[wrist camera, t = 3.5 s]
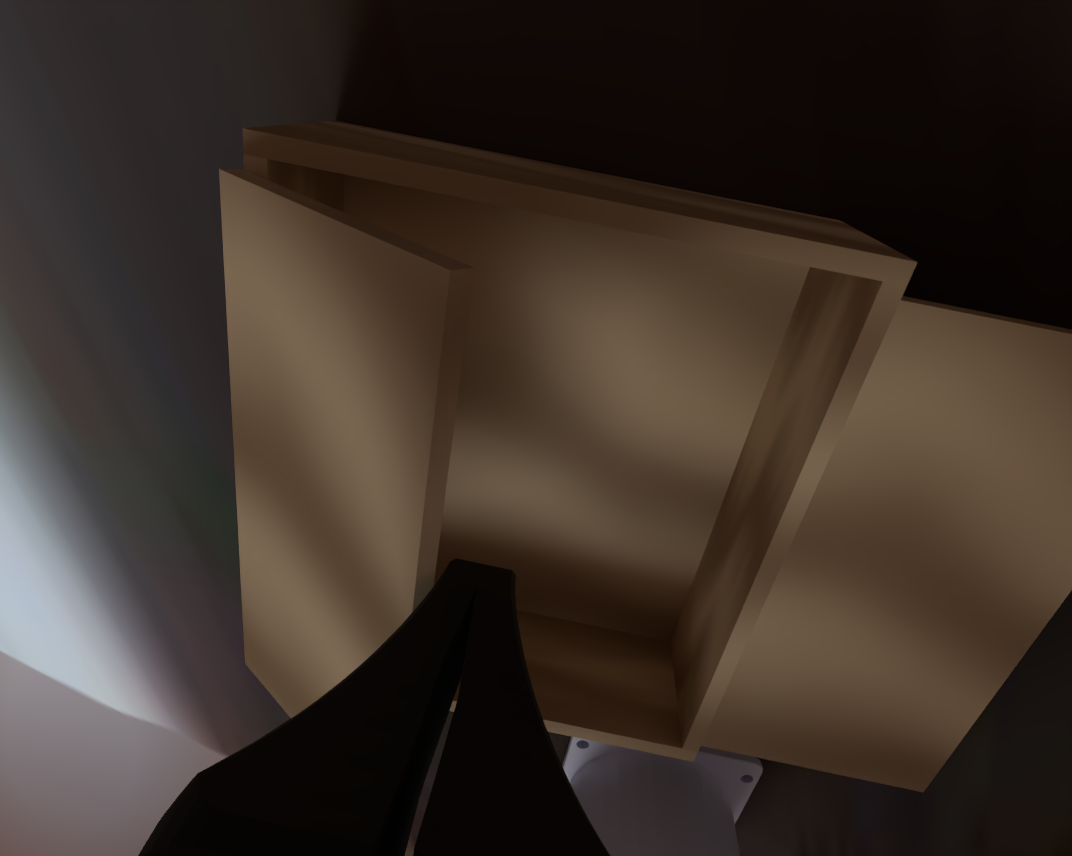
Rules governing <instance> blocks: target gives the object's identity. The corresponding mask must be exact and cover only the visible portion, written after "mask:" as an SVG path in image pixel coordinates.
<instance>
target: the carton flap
mask: <svg viewBox="0 0 1072 856" xmlns="http://www.w3.org/2000/svg"><path fill="white" fill-rule="evenodd" d="M219 177H220V196H221V215H222V234H223V253H224V271H225V290H226V309H227V328H228V347H229V366H230V385H231V404H232V422H233V441H234V460H235V479H236V498H237V517H238V536H239V555H240V573H241V592H242V611H243V630H244V649H245V664H246V665H247V666H248V667H249V669H250V670H251V671H252V672H253V673H254V674H255V676H256V677H257V678H258V679H259V680H260V682H261V683H262V684H263V685H264V686H265V688H266V689H267V690H268V691H269V692H270V694H271V695H272V696H273V697H274V698H275V700H276V701H277V702H278V703H279V704H280V706H281V707H282V708H283V709H284V710H285V712H286V713H287V714H288V715H289V716H290V718H292V717H294V716H295V715H297V714H298V713H300V712H301V711H303V710H304V709H306V708H307V707H308V706H310V705H311V704H312V703H314V702H315V701H317V700H318V699H319V698H320V697H322V696H323V695H324V694H326V693H327V692H328V691H329V690H331V689H332V688H333V687H335V686H336V685H337V684H338V683H340V682H341V681H342V680H343V679H345V678H346V677H347V676H348V675H349V674H350V673H352V672H353V671H354V670H355V669H356V668H357V667H359V666H360V665H361V664H362V663H363V662H364V661H365V660H366V659H367V658H369V657H370V656H371V655H372V654H373V653H374V652H375V651H376V650H377V649H378V648H379V647H380V646H381V645H382V644H383V643H384V642H385V641H386V640H387V639H388V638H389V637H390V636H391V635H392V634H393V633H394V632H395V631H396V630H397V629H398V628H399V627H400V626H401V625H402V624H403V622H404V621H405V620H406V619H407V618H408V617H409V616H410V614H411V613H412V612H413V611H414V610H415V609H416V608H417V606H418V605H419V604H420V603H421V602H422V601H423V599H424V598H425V597H426V596H427V594H428V593H429V592H430V590H431V589H432V588H433V586H434V578H435V571H436V563H437V555H438V547H439V540H440V532H441V524H442V516H443V508H444V501H445V493H446V485H447V477H448V470H449V462H450V454H451V446H452V439H453V431H454V423H455V415H456V407H457V400H458V392H459V384H460V376H461V369H462V361H463V353H464V345H465V338H466V330H467V322H468V314H469V306H470V299H471V291H472V283H473V275H474V267H471V266H469V265H467V264H464V263H462V262H460V261H457V260H455V259H453V258H450V257H448V256H445V255H443V254H441V253H438V252H436V251H434V250H431V249H429V248H427V247H424V246H422V245H419V244H417V243H415V242H412V241H410V240H408V239H405V238H403V237H401V236H398V235H396V234H394V233H391V232H389V231H386V230H384V229H382V228H379V227H377V226H375V225H372V224H370V223H368V222H365V221H363V220H360V219H358V218H356V217H353V216H351V215H349V214H346V213H344V212H342V211H339V210H337V209H334V208H332V207H330V206H327V205H325V204H323V203H320V202H318V201H316V200H313V199H311V198H308V197H306V196H304V195H301V194H299V193H297V192H294V191H292V190H290V189H287V188H285V187H283V186H280V185H278V184H275V183H273V182H271V181H268V180H266V179H264V178H261V177H259V176H257V175H254V174H252V173H249V172H247V171H245V170H236V169H219Z"/></svg>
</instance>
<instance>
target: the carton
mask: <svg viewBox="0 0 1072 856" xmlns="http://www.w3.org/2000/svg"><path fill="white" fill-rule="evenodd" d="M243 154H244V170H245V171H247V172H249V173H252V174H254V175H257V176H259V177H261V178H264V179H266V180H268V181H271V182H273V183H275V184H278V185H280V186H283V187H285V188H287V189H290V190H292V191H294V192H297V193H299V194H301V195H304V196H306V197H308V198H311V199H313V200H316V201H318V202H320V203H323V204H325V205H327V206H330V207H332V208H334V209H337V210H339V211H342V212H344V213H346V214H349V215H351V216H353V217H356V218H358V219H360V220H363V221H365V222H368V223H370V224H372V225H375V226H377V227H379V228H382V229H384V230H386V231H389V232H391V233H394V234H396V235H398V236H401V237H403V238H405V239H408V240H410V241H412V242H415V243H417V244H419V245H422V246H424V247H427V248H429V249H431V250H434V251H436V252H438V253H441V254H443V255H445V256H448V257H450V258H453V259H455V260H457V261H460V262H462V263H464V264H467V265H469V266H471V267H474V275H473V283H472V291H471V299H470V306H469V314H468V322H467V330H466V338H465V345H464V353H463V361H462V369H461V376H460V384H459V392H458V400H457V407H456V415H455V423H454V431H453V439H452V446H451V454H450V462H449V470H448V477H447V485H446V493H445V501H444V508H443V516H442V524H441V532H440V540H439V547H438V555H437V563H436V571H435V578H434V585H435V584H436V583H437V581H438V580H439V578H440V577H441V575H442V574H443V572H444V571H445V569H446V568H447V566H448V564H449V563H450V561H452V560H454V559H456V558H457V559H462V560H466V561H471V562H476V563H481V564H485V565H490V566H495V567H500V568H504V569H509V570H512V571H513V572H514V573H515V575H516V582H515V597H516V609H517V618H518V625H519V631H520V636H521V642H522V647H523V652H524V656H525V661H526V665H527V669H528V673H529V676H530V680H531V684H532V687H533V691H534V694H535V697H536V701H537V704H538V707H539V710H540V712H541V715H542V718H543V721H544V724H545V727H546V729H547V731H548V732H553V733H558V734H562V735H567V736H572V737H577V738H581V739H586V740H591V741H596V742H601V743H605V744H610V745H615V746H620V747H624V748H629V749H634V750H639V751H644V752H648V753H653V754H658V755H663V756H667V757H672V758H677V759H682V760H687V761H691V762H694V760H695V757H696V755H697V753H698V751H699V748H700V746H705V747H709V748H714V749H719V750H724V751H729V752H733V753H738V754H743V755H748V756H753V757H757V758H762V759H767V760H772V761H777V762H781V763H786V764H791V765H796V766H800V767H805V768H810V769H815V770H820V771H824V772H829V773H834V774H839V775H844V776H848V777H853V778H858V779H863V780H868V781H872V782H877V783H882V784H887V785H891V786H896V787H901V788H906V789H911V790H915V791H920V792H924V790H925V789H926V788H927V786H928V785H929V784H930V782H931V781H932V780H933V778H934V777H935V775H936V774H937V773H938V771H939V770H940V769H941V767H942V766H943V765H944V763H945V762H946V760H947V759H948V758H949V756H950V755H951V754H952V752H953V751H954V750H955V748H956V747H957V746H958V744H959V743H960V741H961V740H962V739H963V737H964V736H965V735H966V733H967V732H968V731H969V729H970V728H971V726H972V725H973V724H974V722H975V721H976V720H977V718H978V717H979V716H980V714H981V713H982V711H983V710H984V709H985V707H986V706H987V705H988V703H989V702H990V701H991V699H992V698H993V696H994V695H995V694H996V692H997V691H998V690H999V688H1000V687H1001V686H1002V684H1003V683H1004V681H1005V680H1006V679H1007V677H1008V676H1009V675H1010V673H1011V672H1012V671H1013V669H1014V668H1015V666H1016V665H1017V664H1018V662H1019V661H1020V660H1021V658H1022V657H1023V656H1024V654H1025V653H1026V651H1027V650H1028V649H1029V647H1030V646H1031V645H1032V643H1033V642H1034V641H1035V639H1036V638H1037V637H1038V635H1039V634H1040V632H1041V631H1042V630H1043V628H1044V627H1045V626H1046V624H1047V623H1048V622H1049V620H1050V619H1051V617H1052V616H1053V615H1054V613H1055V612H1056V611H1057V609H1058V608H1059V607H1060V605H1061V604H1062V602H1063V601H1064V600H1065V598H1066V597H1067V596H1068V594H1069V593H1070V592H1071V590H1072V330H1071V329H1066V328H1061V327H1056V326H1051V325H1046V324H1041V323H1036V322H1031V321H1026V320H1021V319H1016V318H1011V317H1006V316H1001V315H996V314H991V313H986V312H981V311H976V310H971V309H966V308H961V307H956V306H951V305H946V304H940V303H935V302H930V301H925V300H920V299H915V298H910V297H905V296H903V294H904V291H905V289H906V287H907V285H908V283H909V280H910V278H911V276H912V274H913V271H914V269H915V267H916V265H917V262H916V261H915V260H913V259H911V258H909V257H907V256H905V255H903V254H902V253H900V252H898V251H896V250H894V249H892V248H890V247H889V246H887V245H885V244H883V243H881V242H879V241H877V240H876V239H874V238H872V237H870V236H868V235H866V234H864V233H863V232H861V231H859V230H857V229H855V228H853V227H851V226H850V225H848V224H846V223H844V222H842V221H840V220H835V219H830V218H825V217H820V216H815V215H810V214H805V213H800V212H795V211H790V210H785V209H780V208H774V207H769V206H764V205H759V204H754V203H749V202H744V201H739V200H734V199H729V198H724V197H719V196H714V195H709V194H704V193H699V192H694V191H688V190H683V189H678V188H673V187H668V186H663V185H658V184H653V183H648V182H643V181H638V180H633V179H628V178H623V177H618V176H613V175H608V174H603V173H597V172H592V171H587V170H582V169H577V168H572V167H567V166H562V165H557V164H552V163H547V162H542V161H537V160H532V159H527V158H522V157H517V156H511V155H506V154H501V153H496V152H491V151H486V150H481V149H476V148H471V147H466V146H461V145H456V144H451V143H446V142H441V141H436V140H431V139H426V138H420V137H415V136H410V135H405V134H400V133H395V132H390V131H385V130H380V129H375V128H370V127H365V126H360V125H355V124H350V123H345V122H340V121H324V122H312V123H300V124H288V125H276V126H264V127H252V128H243ZM433 587H434V586H433ZM460 680H461V679H460ZM459 686H460V682H459V685H458V688H457V691H456V693H455V696H454V699H453V702H452V705H451V708H450V710H449V711H452V712H454V710H455V707H456V703H457V699H458V693H459Z"/></svg>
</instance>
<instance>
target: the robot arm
mask: <svg viewBox="0 0 1072 856" xmlns="http://www.w3.org/2000/svg"><path fill="white" fill-rule="evenodd" d="M515 582H516V575H515V573H514V572H513V571H512V570H509V569H504V568H500V567H495V566H490V565H485V564H481V563H476V562H471V561H466V560H462V559H457V558H456V559H454V560H452V561H450V563H449V564H448V566H447V568H446V569H445V571H444V572H443V574H442V575H441V577H440V578H439V580H438V581H437V583H436V584H435V585H434V587H433V588H432V589H431V590H430V592H429V593H428V594H427V596H426V597H425V598H424V599H423V601H422V602H421V603H420V604H419V605H418V606H417V608H416V609H415V610H414V611H413V612H412V613H411V614H410V616H409V617H408V618H407V619H406V620H405V621H404V622H403V624H402V625H401V626H400V627H399V628H398V629H397V630H396V631H395V632H394V633H393V634H392V635H391V636H390V637H389V638H388V639H387V640H386V641H385V642H384V643H383V644H382V645H381V646H380V647H379V648H378V649H377V650H376V651H375V652H374V653H373V654H372V655H371V656H370V657H369V658H367V659H366V660H365V661H364V662H363V663H362V664H361V665H360V666H359V667H357V668H356V669H355V670H354V671H353V672H352V673H350V674H349V675H348V676H347V677H346V678H345V679H343V680H342V681H341V682H340V683H338V684H337V685H336V686H335V687H333V688H332V689H331V690H329V691H328V692H327V693H326V694H324V695H323V696H322V697H320V698H319V699H318V700H317V701H315V702H314V703H312V704H311V705H310V706H308V707H307V708H306V709H304V710H303V711H301V712H300V713H298V714H297V715H295V716H294V717H292V718H291V719H289V720H288V721H286V722H285V723H283V724H282V725H280V726H279V727H277V728H276V729H274V730H272V731H271V732H269V733H268V734H266V735H265V736H263V737H262V738H260V739H258V740H257V741H255V742H253V743H252V744H250V745H248V746H247V747H245V748H243V749H241V750H239V751H238V752H236V753H234V754H232V755H230V756H229V757H227V758H225V759H223V760H221V761H220V762H218V763H216V764H214V765H213V766H211V767H209V768H207V769H205V770H203V771H201V772H200V773H198V774H197V775H196V776H195V777H194V778H193V779H192V780H191V782H190V783H189V784H188V785H187V787H186V788H185V789H184V790H183V791H182V792H181V794H180V795H179V796H178V797H177V799H176V800H175V801H174V802H173V804H172V805H171V806H170V808H169V809H168V810H167V811H166V813H165V814H164V815H163V817H162V818H161V820H160V821H159V823H158V824H157V825H156V827H155V829H154V831H153V832H152V834H151V835H150V837H149V839H148V841H147V842H146V844H145V845H144V847H143V849H142V851H141V852H140V854H139V855H138V856H404V855H405V851H406V848H407V844H408V840H409V836H410V832H411V828H412V824H413V821H414V817H415V813H416V809H417V805H418V801H419V798H420V795H421V791H422V788H423V785H424V782H425V778H426V775H427V773H428V770H429V767H430V764H431V761H432V758H433V756H434V753H435V750H436V747H437V744H438V742H439V739H440V736H441V733H442V730H443V727H444V725H445V722H446V719H447V716H448V713H449V710H450V708H451V705H452V702H453V699H454V696H455V693H456V691H457V688H458V685H459V682H460V686H459V693H458V699H457V703H456V707H455V710H454V714H453V717H452V721H451V725H450V728H449V732H448V735H447V739H446V742H445V746H444V750H443V753H442V756H441V760H440V763H439V767H438V770H437V774H436V777H435V781H434V784H433V788H432V791H431V794H430V798H429V801H428V804H427V808H426V811H425V814H424V818H423V821H422V824H421V828H420V831H419V834H418V837H417V841H416V844H415V848H414V855H413V856H740V854H739V848H738V842H737V836H736V830H735V823H736V821H737V819H738V818H739V816H740V814H741V812H742V810H743V808H744V806H745V804H746V803H747V801H748V799H749V797H750V795H751V793H752V791H753V789H754V788H755V786H756V784H757V782H758V780H759V778H760V776H761V774H762V772H763V768H762V764H761V761H760V760H759V759H758V758H756V757H753V756H748V755H743V754H738V753H733V752H729V751H724V750H719V749H714V748H709V747H705V746H700V748H699V751H698V753H697V755H696V757H695V760H694V762H691V761H687V760H682V759H677V758H672V757H667V756H663V755H658V754H653V753H648V752H644V751H639V750H634V749H629V748H624V747H620V746H615V745H610V744H605V743H601V742H596V741H591V740H586V739H581V738H577V737H572V736H571V738H570V742H569V745H568V748H567V752H566V755H565V758H564V762H563V765H561V762H560V760H559V758H558V756H557V754H556V752H555V749H554V747H553V744H552V742H551V739H550V737H549V734H548V732H547V729H546V727H545V724H544V721H543V718H542V715H541V712H540V710H539V707H538V704H537V701H536V697H535V694H534V691H533V687H532V684H531V680H530V676H529V673H528V669H527V665H526V661H525V656H524V652H523V647H522V642H521V636H520V631H519V625H518V618H517V609H516V597H515ZM460 679H461V680H460Z"/></svg>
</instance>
